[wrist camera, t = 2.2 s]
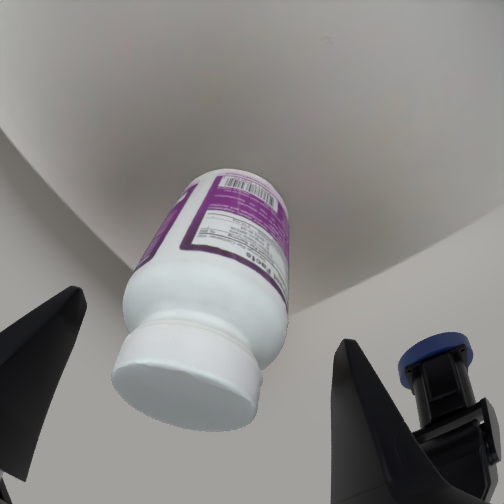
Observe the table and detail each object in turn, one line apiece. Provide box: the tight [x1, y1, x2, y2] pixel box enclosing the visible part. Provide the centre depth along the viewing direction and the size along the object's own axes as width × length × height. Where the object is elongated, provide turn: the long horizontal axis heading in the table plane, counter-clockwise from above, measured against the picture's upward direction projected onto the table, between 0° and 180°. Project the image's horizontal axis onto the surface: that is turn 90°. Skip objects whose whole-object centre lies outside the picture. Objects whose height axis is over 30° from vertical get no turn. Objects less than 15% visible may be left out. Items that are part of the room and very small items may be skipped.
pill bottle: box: [112, 169, 289, 432], centre depth 11 cm, size 5×5×10 cm
